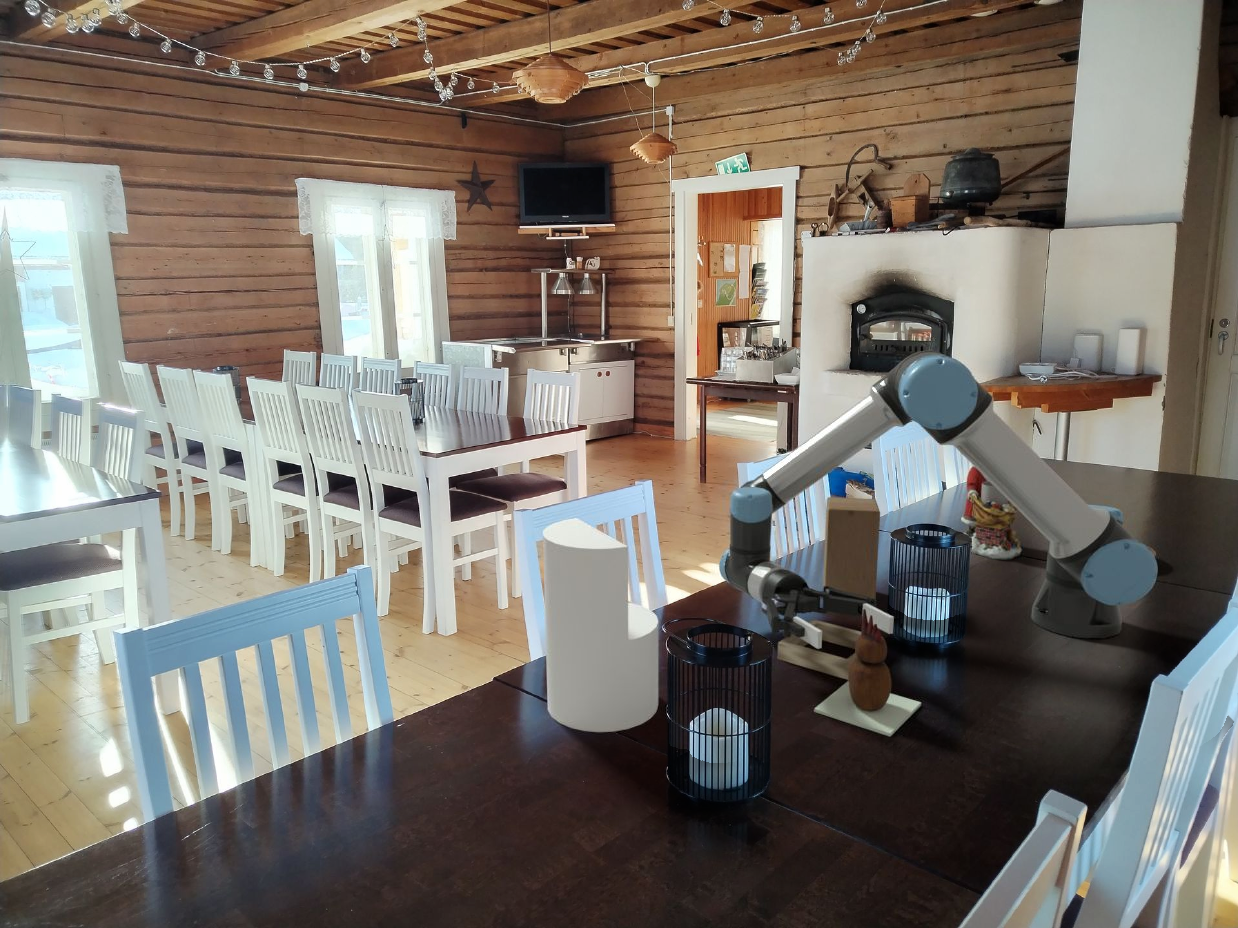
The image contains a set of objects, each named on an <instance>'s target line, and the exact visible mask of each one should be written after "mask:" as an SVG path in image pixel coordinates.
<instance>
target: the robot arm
mask: <svg viewBox="0 0 1238 928" xmlns="http://www.w3.org/2000/svg"><path fill="white" fill-rule="evenodd" d="M994 401H995V398H994V397H993V395H991V394H990V393H989V392H988V391H987V389H986V388H984V386H983V385H981V383H979V381H977V379H975V376H974V375H973V374H972V371H971V370H970V369H969V368H968V367H967V366H966V365H965V364H963V363H962V362H961V361H959V360H958V359H955V358H954V357H951V356H948V355H946V354H944V353H942V352H939V351H937V350H923V351H921V350H920V351H918V352H915V353H912V354H910V355H908V356H907V357H905V358H904V359H903V360H901V361H900V362H899V363H898V364H897V365H895V366H894V368H892V369H891V370H890V371H889V372H887V373H886V374H885V375H884V376H883V377H881V378H880V379H878V381H876V382H875V383H873V384H872V385H871V386H870V391H869V394H868V395H866V396H865V397H864V398H862V399H861V400H860V401H858V402H857V403H856V404H854V405H853V406H851V408H849V409H847V410H846V411H845V412H844V413H842V414H841V415H839V416H838V417H836V418H835V419H834V420H833V421H832V422H830V423H829V424H827V425H826V426H825V427H824V428H822V429H820V430H819V431H817V433H815V434H814V435H813V436H811V437H810V438H808V439H807V440H805V442H803V443H802V444H801V445H799V446H797V447H796V448H795V449H794V450H792V451H791V452H789V453H788V454H787V455H785V456H784V457H782V458H781V459H780V460H779V461H777V462H776V463H775V464H773V465H772V466H771V467H769V468H768V469H766V470H765V471H764V472H763V473H761V474H760V475H759V476H757V477H756V478H754V479H751V480H749V481H748V480H747V481H746V482H744V483H743V484H742V485H741V486H740V487H738V488H737V489H735V490H733V491H732V493H731V494H730V495H731V497H730V504H729V505H730V506H729V513H730V514H729V516H730V517H729V522H730V523H729V525H730V526H729V528H730V529H729V531H730V532H729V533H730V534H729V539H730V540H729V542H730V543H729V548H727V549H726V550H725V551H724V552H723V554H722V556H721V559H720V560H719V563H718V568H719V569H718V570H719V574H720V575H721V577H722V579H723V580H724V581H726V583H728V584H730V586H731V587H732V588H734V589H735V590H737V591H741V592H743V593H744V594H745V595H748V596H750V598H752V599H755V601H757V602H759V603H761V612H762V613H763V614H764V615H766V617H767V620H768V624H769V628H770V631H771V632H772V633H773V634H779V633H780V631H783V632H782V636H783V637H784V638H786V637H791V634H793V635H795V636H796V637H800V638H801V639H803V640H804V641H806V642H808V643H809V644H810V645H811V646H812V647H814V648H815V649H816V650H819V649H822V643H823V640H822V631H821V630H819V629H818V628H816V627H814V626H813V625H811V624H809V622H808V621H806V620H804V619H803V618H801V617H799V616H797V615H798V614H802V615H803V614H808V613H809V614H810V613H819V614H823V615H824V614H827V613H828V612H830V613H835V614H841V615H849V616H854V617H855V616H856V617H861V618H863V609H865V610H866V615H867V620H868V623H869V619H870V615H872V617H873V627H874V624H877V629H878V630H880V631H882V632H884V633H887V634H888V635H890V634H893V633H894V619H895V616H893V615H890V614H889V613H888V612H884V611H883V610H881V609H879V608H877V601H878V600H877V599H876V598H875V599H874V598H870V597H866V596H862V595H858V594H853V593H849V592H845V591H841V590H836V589H834V588H832V587H829V586H824V587H823V586H822V590H823V591H821V590H816V589H814V588H811V587H809V585H808V583H807V582H806V581H805V578H804V577H802V576H801V575H799V574H797V573H796V572H793V571H791V570H789V569H788V568H786V567H783V566H782V565H779V564H777V563H775V562H774V561H772V560H771V549H772V547H771V546H772V544H771V543H772V542H771V541H772V540H771V538H772V519H773V515H774V513H776V512H777V511H779V510H780V509H781V508H782V507H784V506H785V505H787V503H789V502H790V501H792V500H794V499H795V498H796V497H797V496H799V495H800V494H802V493H803V492H804V491H805V490H807V489H809V488H810V487H812V486H813V485H814V484H816V483H817V482H818V481H820V480H821V479H823V478H824V477H826V476H827V475H828V474H830V473H831V472H832V471H834V470H835V469H838V467H839V466H841V465H842V464H844V463H845V462H846V461H848V460H849V459H850V458H852V457H853V456H855V455H856V454H857V453H859V452H861V450H862V451H863V449H864V448H866V447H868V446H869V445H870V444H871V443H873V442H874V441H876V440H877V439H879V438H880V437H881V436H883V435H885V434H886V433H887V432H889V431H890V430H891V429H893V428H894V427H899V428H900V427H901V428H903V427H905V426H906V425H908V424H910V422H912V421H913V422H915V423H916V424H918V425H919V426H920V427H921V428H923V429H924V431H925V432H926V433H927V434H929V436H930V437H931V438H933V440H934V441H936V442H937V443H938V444H939V445H940V446H952V447H955V449H956V450H958V452H960V454H962V455H963V457H965V459H966V460H968V462H969V463H971V465H972V464H973V465H974V466H975V467H976V468H977V469H978V470H979V471H980V472H981V473H982V474H983V475H984V476H985V477H986V478H987V479H988V480H989V481H990V482H991V483H992V484H993V485H994V486H995V487H996V488H997V489H998V490H999V491H1000V492H1001V493H1002V494H1003V495H1004V496H1005V497H1006V498H1007V499H1008V500H1009V501H1010V502H1011V503H1012V504H1013V505H1014V506H1015V507H1016V508H1017V510H1018V511H1019V512H1020V513H1021V514H1022V515H1023V517H1025V518H1026V519H1027V520H1028V521H1029V522H1030V523H1031V524H1032V525H1033V526H1034V528H1035V529H1037V530H1038V531H1039V532H1040V533H1041V534H1042V535H1043V536H1044V537H1045V539H1046V540H1048V546H1047V555H1046V556H1047V557H1046V567H1045V568H1046V569H1045V577H1044V582H1043V584H1042V585H1041V587H1040V590H1039V591H1038V594H1037V596H1036V598H1035V600H1034V602H1033V604H1032V607H1031V620H1032V621H1033V622H1034V623H1035V624H1036V625H1038V626H1039V627H1041V628H1043V629H1045V630H1048V631H1049V632H1053V633H1056V634H1059V635H1062V636H1067V637H1072V636H1073V637H1072V638H1079V639H1080V638H1081V639H1089V638H1102V639H1106V638H1105V637H1110V636H1114V635H1116V634H1118V633H1119V632H1120V630H1121V631H1122V625H1123V624H1122V622H1123V620H1122V619H1123V618H1122V615H1121V610H1120V606H1125V605H1129V604H1130V605H1131V604H1132V603H1134V602H1137V601H1138V600H1141V599H1142V598H1143V597H1145V596H1146V595H1147V594H1148V593H1150V591H1151V590H1152V588H1153V587H1154V585H1155V583H1156V581H1157V576H1158V570H1159V569H1158V562H1157V560H1156V556H1155V557H1154V556H1153V554H1152V553H1151V551H1150V550H1149V548H1148V547H1149V546H1148V545H1146V544H1144V543H1142V542H1140V541H1139V540H1138V539H1137V538H1135V537H1134V536H1133V535H1132V534H1131V533H1130V532H1129V531H1128V529H1126V527H1124V526H1123V524H1124V522H1125V520H1124V519H1123V518H1124V513H1123V511H1122V510H1121V509H1119V508H1116V507H1112V506H1106V505H1096V504H1088V503H1086V501H1084V499H1083V498H1081V497H1080V495H1079V494H1078V493H1077V492H1075V491H1074V489H1073V488H1072V487H1070V485H1068V484H1067V483H1066V482H1065V480H1063V478H1062V477H1060V475H1058V474H1057V473H1056V471H1054V470H1053V469H1052V468H1051V467H1050V465H1048V464H1047V463H1046V461H1044V459H1042V458H1041V457H1040V456H1039V455H1038V453H1036V452H1035V451H1034V449H1033V448H1031V446H1029V445H1028V443H1026V441H1024V440H1023V439H1022V438H1021V437H1020V436H1019V435H1018V434H1017V433H1016V432H1015V431H1014V430H1013V429H1012V428H1011V427H1010V425H1008V424H1007V422H1005V421H1004V420H1003V419H1002V418H1001V417H1000V416H999V414H997V413H996V412H995V411H994ZM1147 546H1148V547H1147ZM821 600H822V602H823V603H822V607H821ZM780 616H783V618H781V617H780ZM1120 633H1121V632H1120ZM1120 633H1119V634H1120ZM1119 634H1118V635H1119ZM1116 636H1117V635H1116ZM1114 637H1115V636H1114ZM1110 638H1111V637H1110ZM809 644H808V645H809Z"/></svg>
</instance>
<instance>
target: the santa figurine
mask: <svg viewBox="0 0 1238 928" xmlns="http://www.w3.org/2000/svg"><path fill="white" fill-rule="evenodd" d="M966 492H967V495H966V499H965V500H966V501H965V507H964V513H963V514H962V516H961V519H960V520H961V522H962V523H964V524H966V525H967V526H968V530H967V531H966V532H963V533H964V534H966V535H968V536H970V538H972V553H971V554H974V555H978V556H980V557H981V556H982V557H986V558H988V559H993V560H1012V559H1014V558H1016V557H1018V556H1019V557H1020V555H1021V552H1022V551H1023V549H1022V547H1021V542H1020V540H1019V538H1018V537H1015V536H1016V535H1017V531H1015V530H1014V529H1011V525H1012V524H1013V523H1014V521H1015V520H1016V514H1017V513H1018V511H1017V510H1018V509H1017V508H1016V507H1015V506H1014V505H1013V504H1012V503H1011V502H1010V501H1009V500H1008V499H1007V498H1006V497H1005V496H1004V495H1003V494H1002V493H1001V492H1000V491H999V490H998V489H997V488H996V487H995V486H994V485H993V484H992V483H991V482H990V481H989V480H988V479H987V478H986V477H985V476H984V475H983V474H982V473H981V472H980V471H979V470H978V469H977V468H976V467H975V466H974V465H973V464H972V463H971V467H970V469H969V471H968V473H967V476H966Z"/></svg>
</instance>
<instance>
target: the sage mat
mask: <svg viewBox="0 0 1238 928" xmlns="http://www.w3.org/2000/svg"><path fill="white" fill-rule="evenodd" d="M921 706H922V702H920V701H917V700H915V699H914V700H913V699H912V698H911V699H910V698H907V697H904V696H900V695H898V694H894V693H891V692H890V695H889V698H888V700H887V702H886V704H885V705H884V707H882V708H881V709H879V710H876V711H867V710H864V709H861V708H859V707H858V706H856V705H855V704H854V702H853V700H852V698H851V695H850V690H849V682H848V680H847V681H846V682H845V683H844V684H842V685H841V686H839V688H837V690H836V691H834V692H833V693H832V694H830V695H829V696H828V697H827V698H825V699H824V700H823V701H821V703H820V704H818V705H817V706H816V707H814V710H813V712H814V713H816V714H820V715H823V716H826V717H830V718H833V719H836V720H838V721H840V722H841V721H842V722H845V723H847V724H850V725H853V726H857V727H860V728H863V729H866V730H869V731H872V732H875V733H878V734H881V735H884V736H887V737H892V736H893V734H894V733H896V731H898V729H899V728H900V727H902V725H903V724H904V723H905V722H906V721H907V720H908V719H909V718H911V716H912V715H913V714H914V713H915V712H916V711H918V709H919V708H920V707H921Z"/></svg>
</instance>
